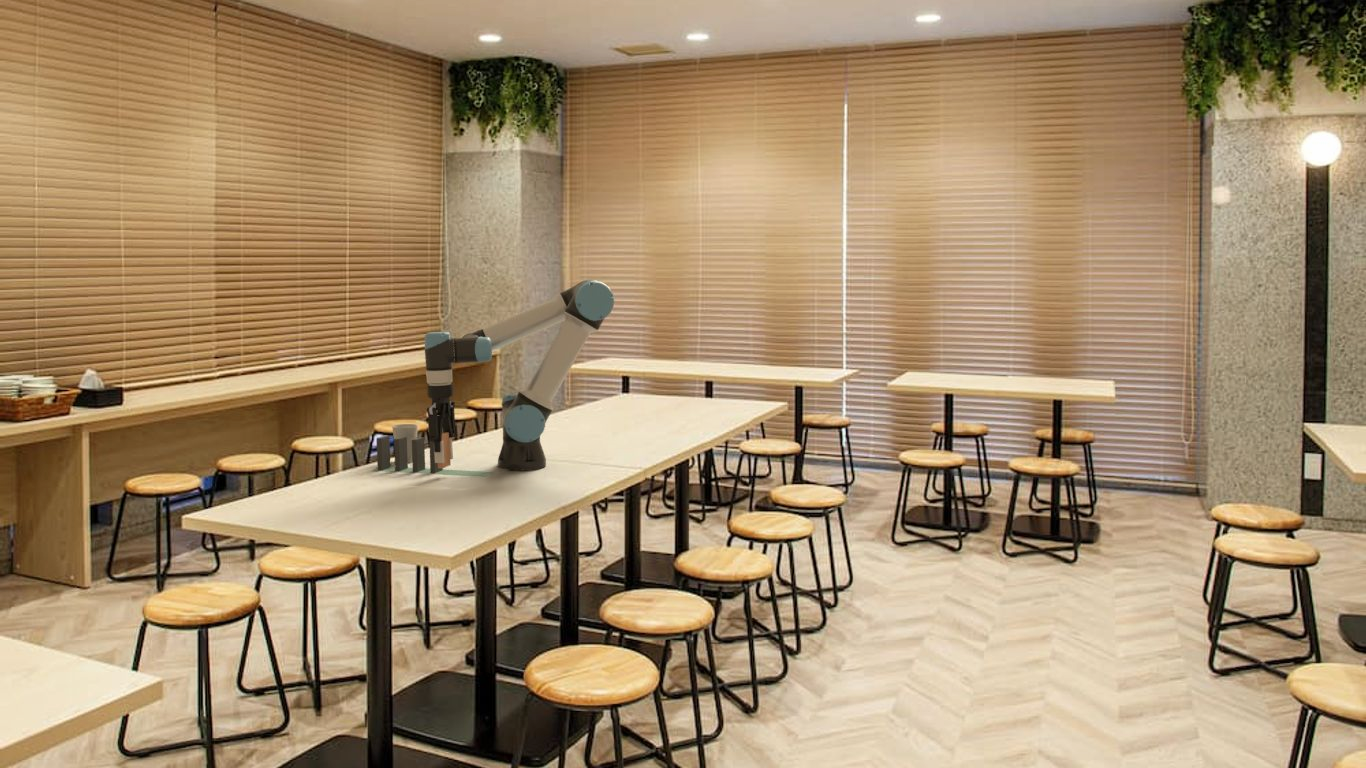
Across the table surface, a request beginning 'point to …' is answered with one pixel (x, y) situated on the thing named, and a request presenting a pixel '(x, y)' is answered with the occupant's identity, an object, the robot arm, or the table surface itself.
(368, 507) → the table surface
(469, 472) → the runner
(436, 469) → the domino
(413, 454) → the domino
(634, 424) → the table surface
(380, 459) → the domino
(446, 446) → the domino
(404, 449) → the domino
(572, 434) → the table surface
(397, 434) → the cup
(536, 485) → the table surface
